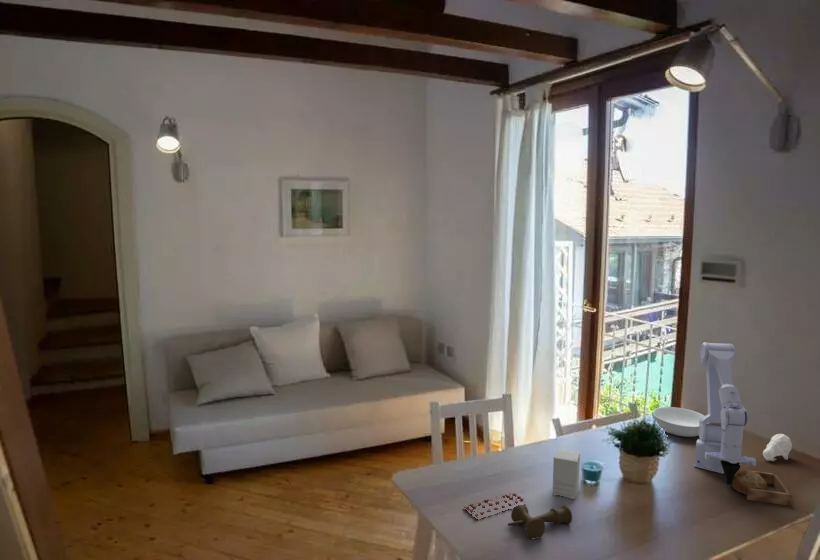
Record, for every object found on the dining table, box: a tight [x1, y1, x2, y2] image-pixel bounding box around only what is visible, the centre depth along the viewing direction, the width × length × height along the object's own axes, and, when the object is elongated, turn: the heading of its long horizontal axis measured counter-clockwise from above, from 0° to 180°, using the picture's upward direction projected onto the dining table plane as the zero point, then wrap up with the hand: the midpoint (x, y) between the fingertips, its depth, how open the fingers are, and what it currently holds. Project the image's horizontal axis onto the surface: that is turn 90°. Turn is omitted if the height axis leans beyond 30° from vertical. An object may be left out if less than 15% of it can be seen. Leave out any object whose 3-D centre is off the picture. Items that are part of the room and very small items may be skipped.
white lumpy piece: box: [762, 433, 793, 462], centre depth 203 cm, size 6×8×12 cm
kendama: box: [507, 504, 573, 540], centre depth 158 cm, size 6×10×20 cm
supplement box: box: [552, 448, 581, 500], centre depth 177 cm, size 7×7×13 cm
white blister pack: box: [463, 491, 526, 518], centre depth 169 cm, size 7×19×2 cm, turn 119°
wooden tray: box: [746, 469, 793, 507], centre depth 180 cm, size 12×15×4 cm
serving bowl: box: [652, 406, 710, 438], centre depth 227 cm, size 21×21×7 cm
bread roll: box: [730, 469, 769, 496], centre depth 180 cm, size 10×10×8 cm
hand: (727, 482), depth 182 cm, fingers closed
